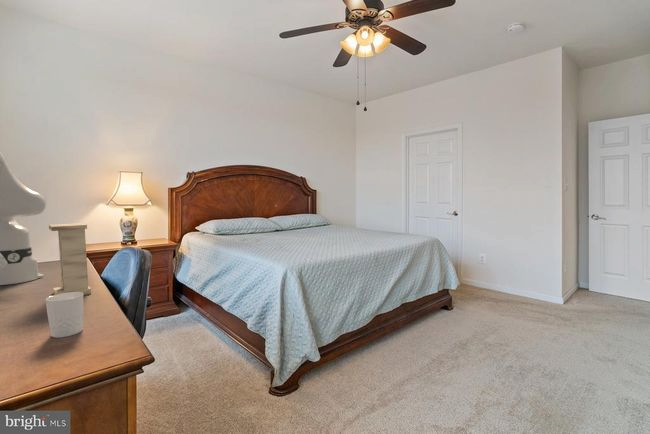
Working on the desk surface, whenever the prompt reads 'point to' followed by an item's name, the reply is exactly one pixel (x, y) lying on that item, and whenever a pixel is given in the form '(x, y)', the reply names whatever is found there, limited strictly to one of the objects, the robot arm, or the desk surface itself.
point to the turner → (3, 261)
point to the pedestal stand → (72, 258)
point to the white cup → (65, 314)
